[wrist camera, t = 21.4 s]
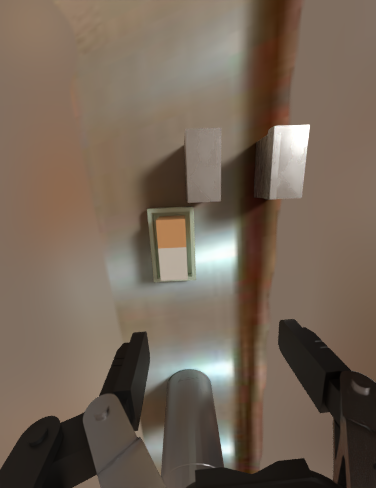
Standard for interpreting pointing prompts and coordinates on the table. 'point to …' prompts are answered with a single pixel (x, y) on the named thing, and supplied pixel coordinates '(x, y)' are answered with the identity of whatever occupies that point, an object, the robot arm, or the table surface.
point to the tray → (190, 240)
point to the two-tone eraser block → (172, 247)
